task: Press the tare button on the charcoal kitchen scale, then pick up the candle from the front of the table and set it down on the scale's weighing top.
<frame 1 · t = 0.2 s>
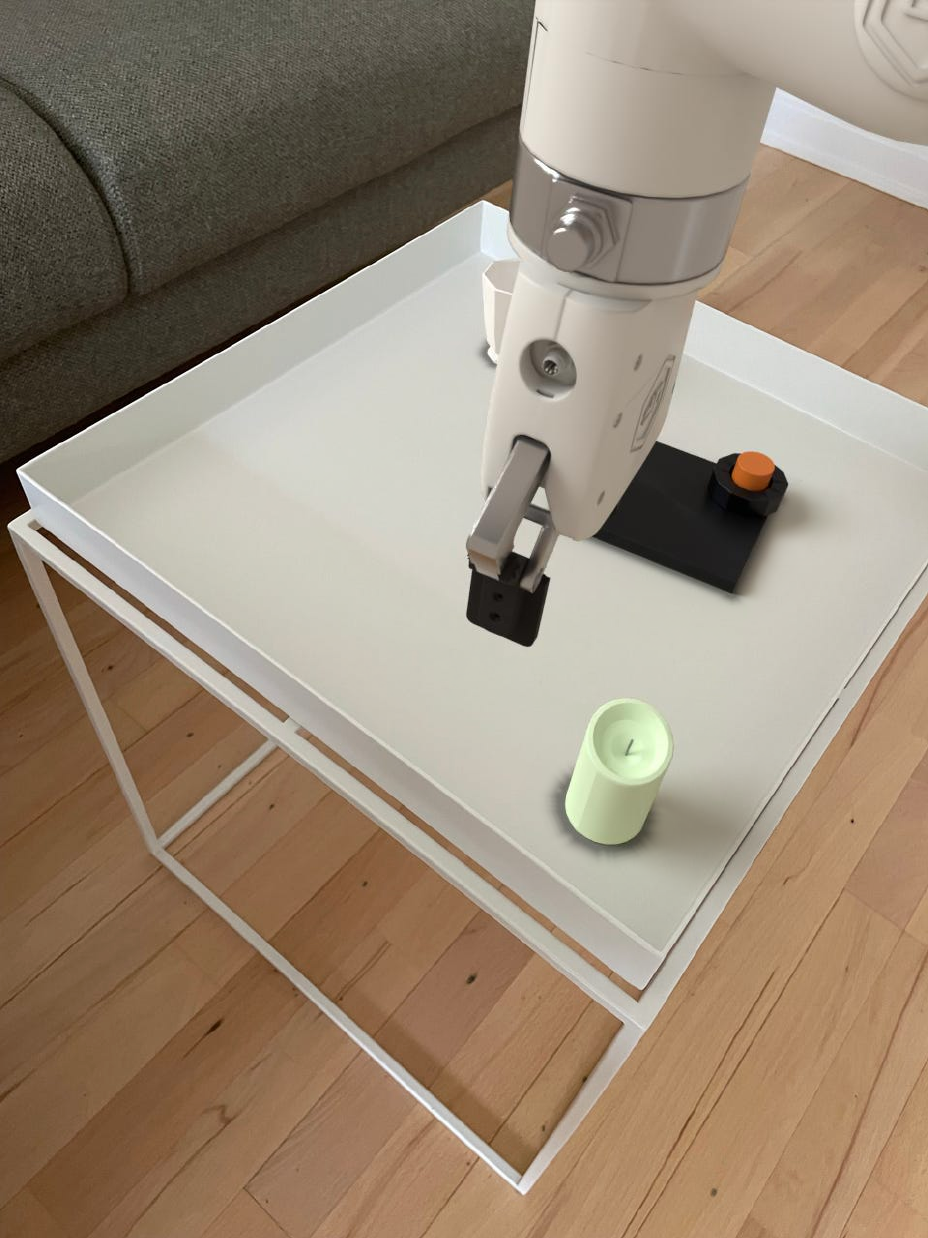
hand: (546, 562, 45), 21 cm above the table, tool pointing down, fingers open, 9 cm apart
scale: (668, 509, 80), on the table
candle: (604, 811, 61), on the table
cup: (520, 351, 94), on the table
tare button: (753, 471, 79), point 3 cm above the table, slide at 0.1 cm
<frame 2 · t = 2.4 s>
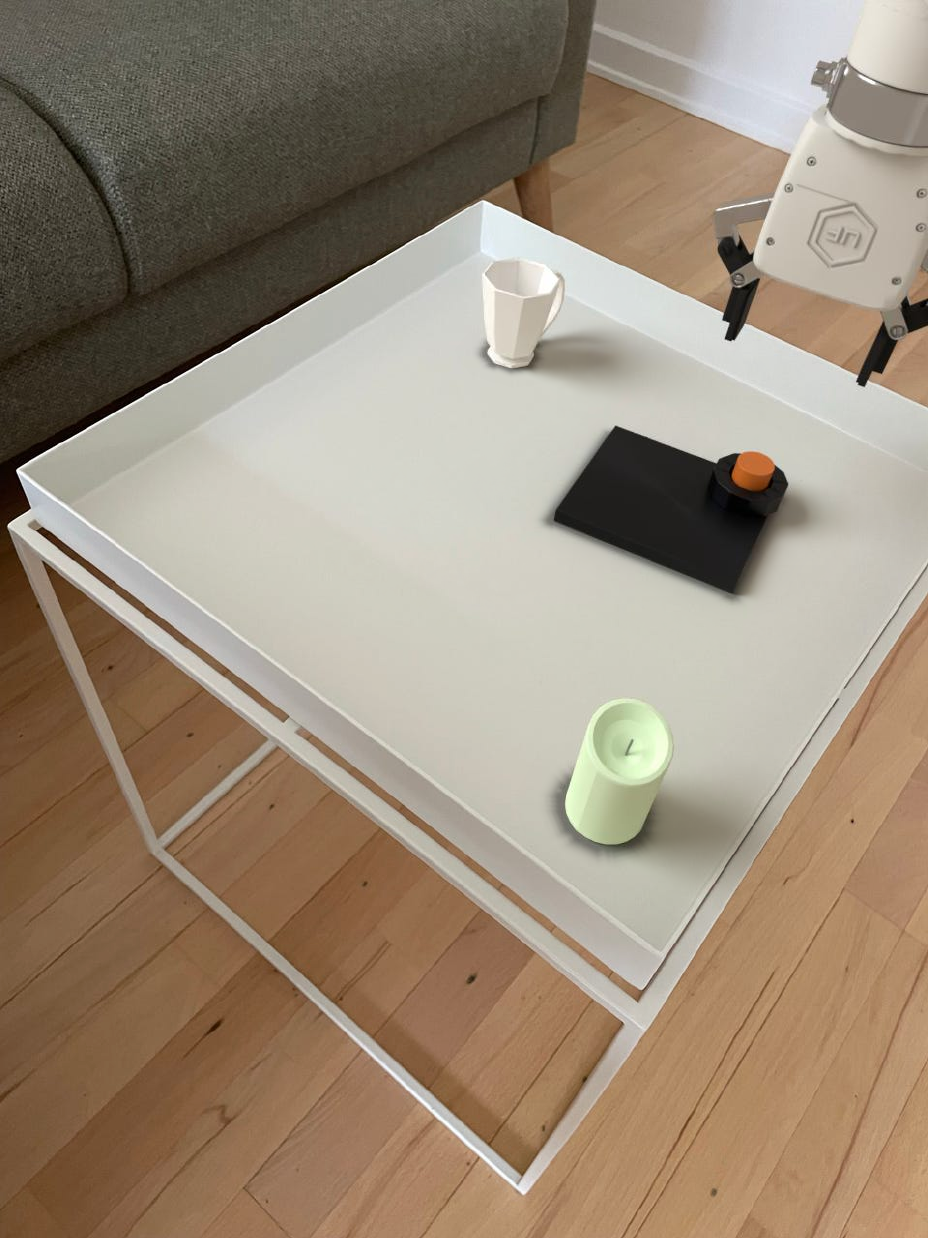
hand: (797, 353, 71), 15 cm above the table, tool pointing down, fingers open, 9 cm apart
nothing on the table moved.
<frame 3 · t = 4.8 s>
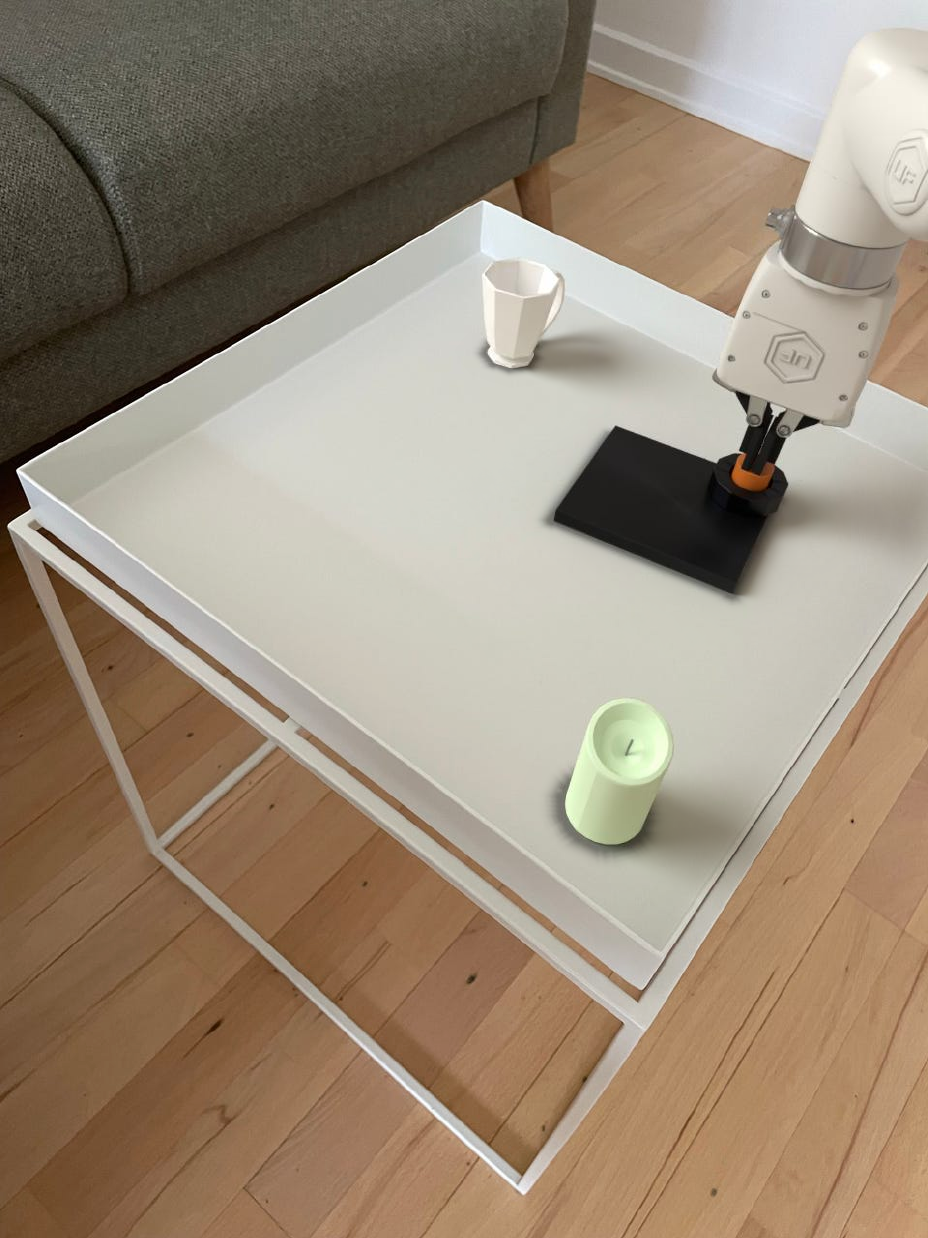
hand: (755, 462, 78), 4 cm above the table, tool pointing down, fingers closed
tare button: (752, 472, 79), point 3 cm above the table, slide at 0.0 cm, touching gripper
everything else where it was.
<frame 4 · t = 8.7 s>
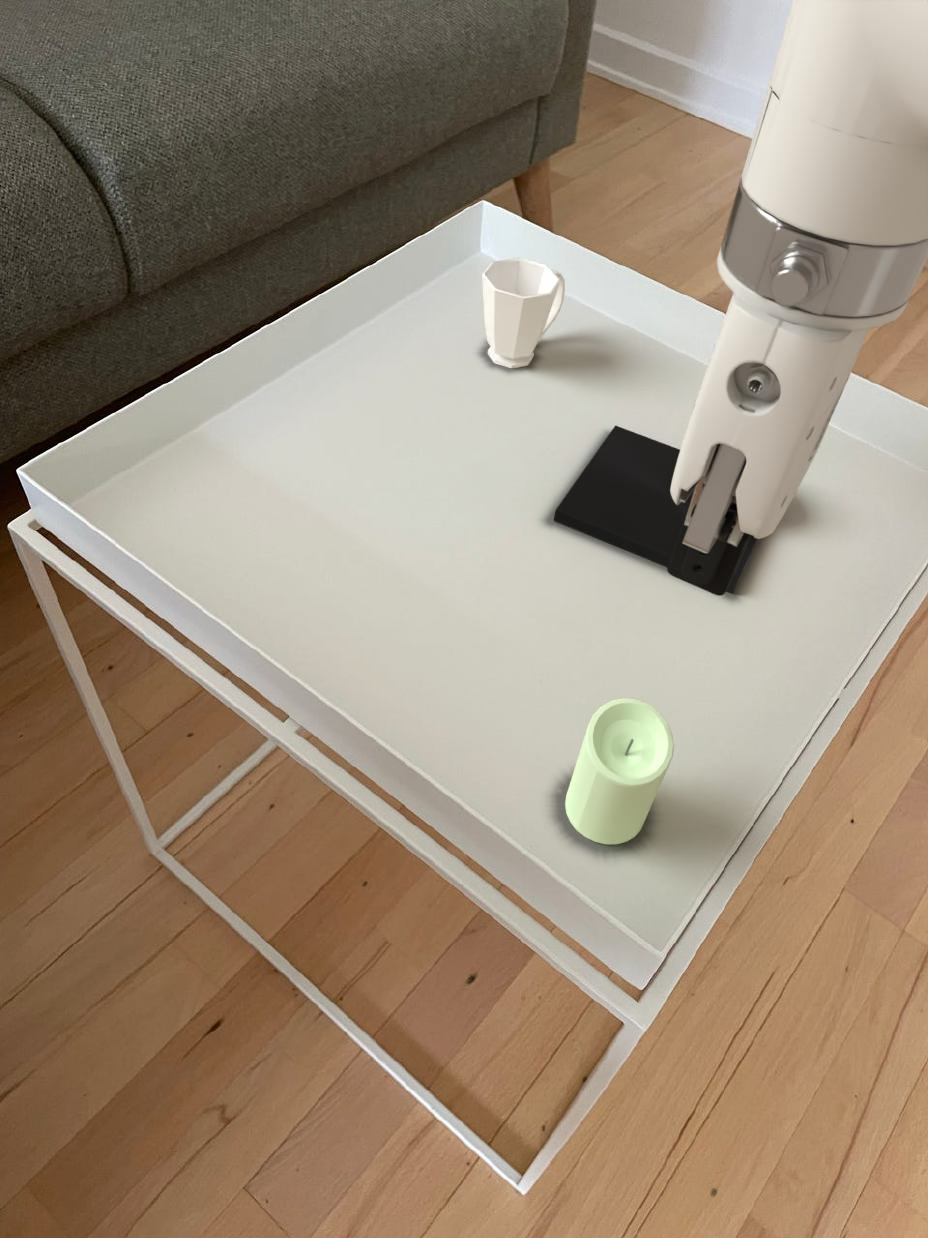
hand: (699, 575, 51), 17 cm above the table, tool pointing down, fingers closed
tare button: (752, 471, 79), point 3 cm above the table, slide at 0.1 cm
everything else where it was.
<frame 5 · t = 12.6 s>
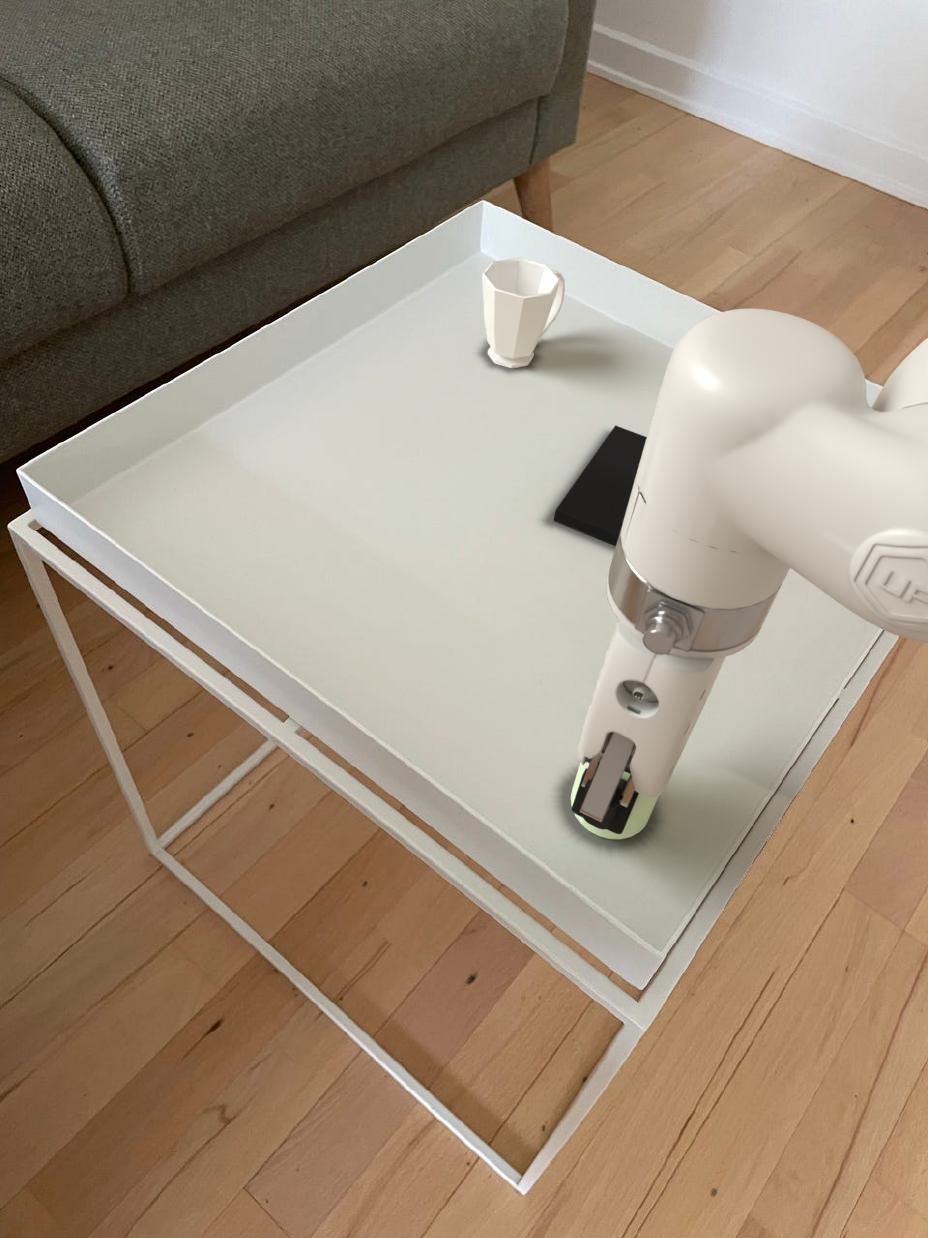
hand: (613, 786, 59), 3 cm above the table, tool pointing down, fingers closed on candle, 4 cm apart
candle: (609, 806, 61), on the table, touching gripper
everything else where it was.
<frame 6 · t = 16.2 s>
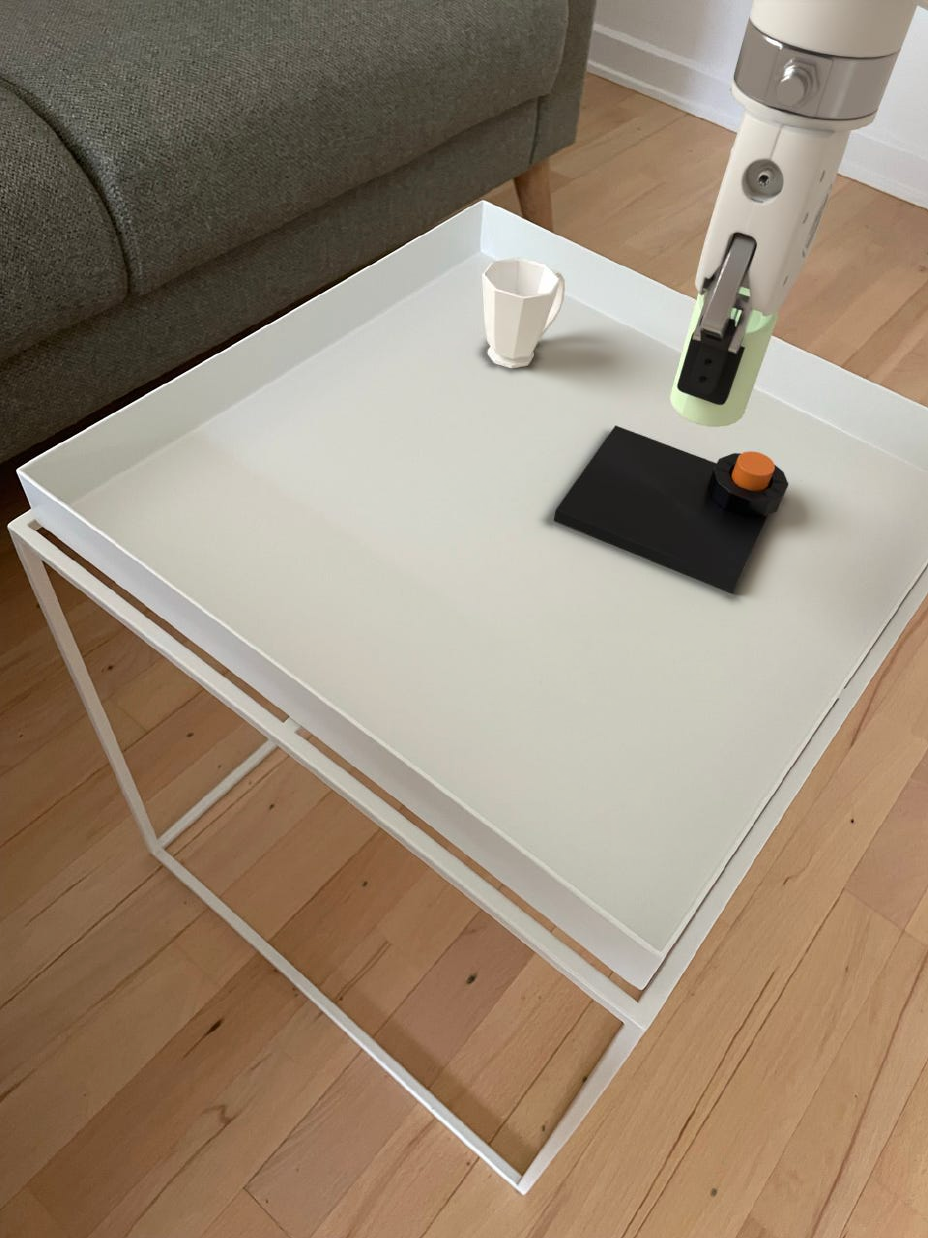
hand: (713, 374, 63), 17 cm above the table, tool pointing down, fingers closed on candle, 4 cm apart
candle: (706, 406, 66), point 14 cm above the table, touching gripper
everything else where it was.
when the fingers open (4 cm above the table, at t = 20.0 s): candle stays where it is, resting on scale.
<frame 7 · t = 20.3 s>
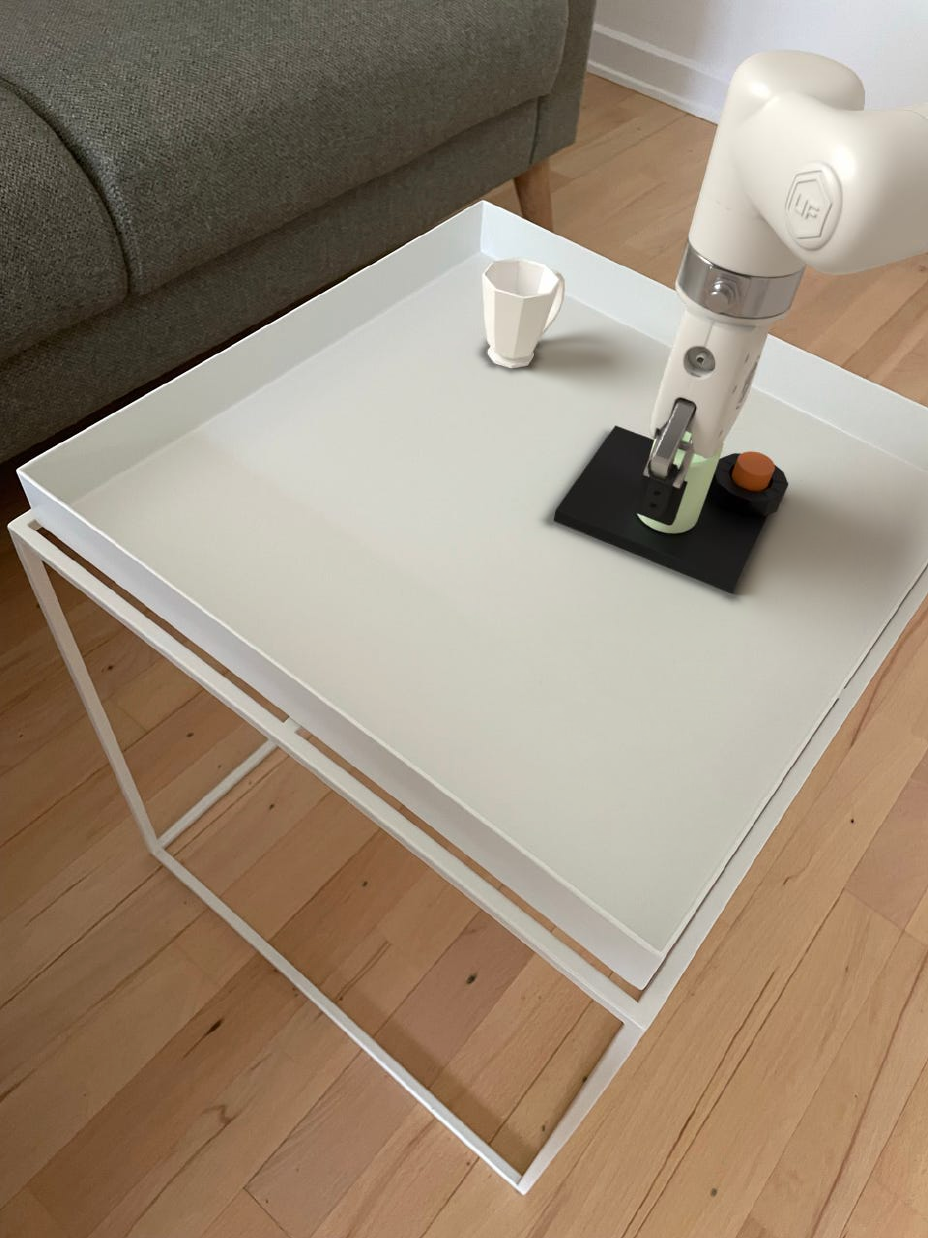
hand: (671, 484, 75), 4 cm above the table, tool pointing down, fingers open, 7 cm apart
candle: (665, 514, 78), point 1 cm above the table, touching scale
everything else where it was.
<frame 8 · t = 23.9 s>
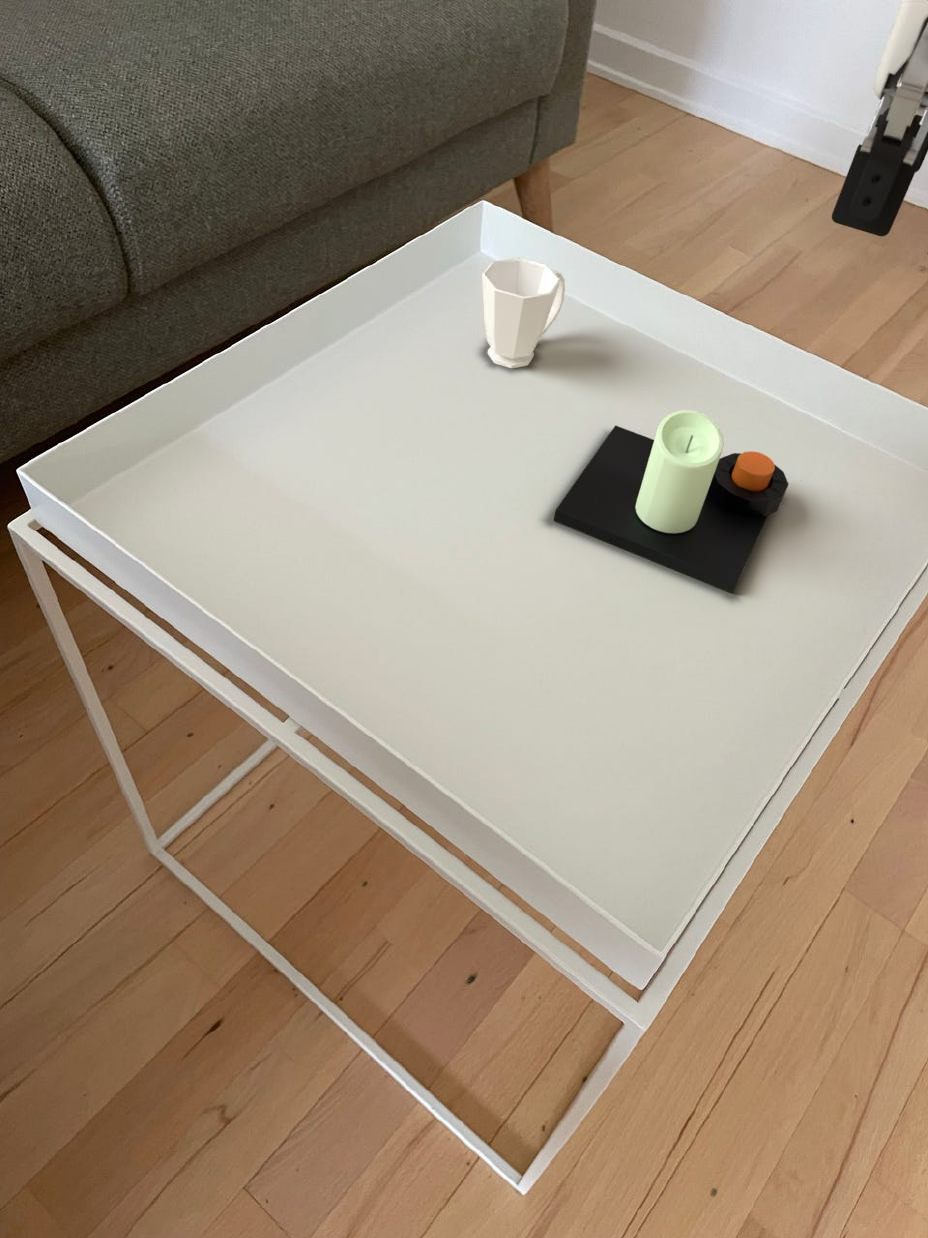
hand: (876, 194, 57), 28 cm above the table, tool pointing down, fingers open, 9 cm apart
nothing on the table moved.
at the end: tare button pushed in 1.1 cm at the most during the clip, back to where it started at the end; candle 0.5 cm from the target spot on the scale, point 1.0 cm above the scale's base; candle tilted 0° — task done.
